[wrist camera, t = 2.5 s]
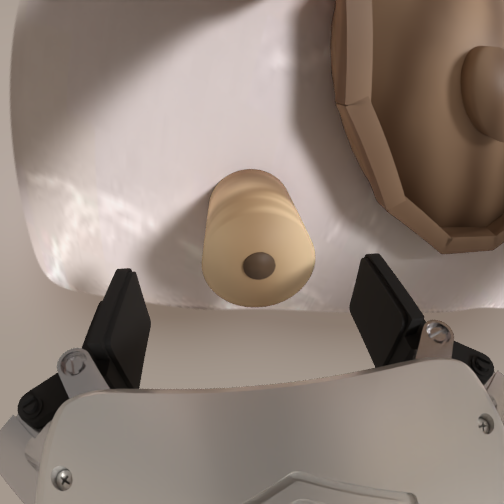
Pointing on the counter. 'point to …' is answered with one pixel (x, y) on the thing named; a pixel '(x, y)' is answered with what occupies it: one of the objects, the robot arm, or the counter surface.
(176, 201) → the counter surface
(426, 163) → the ring tray
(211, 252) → the bead
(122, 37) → the counter surface
